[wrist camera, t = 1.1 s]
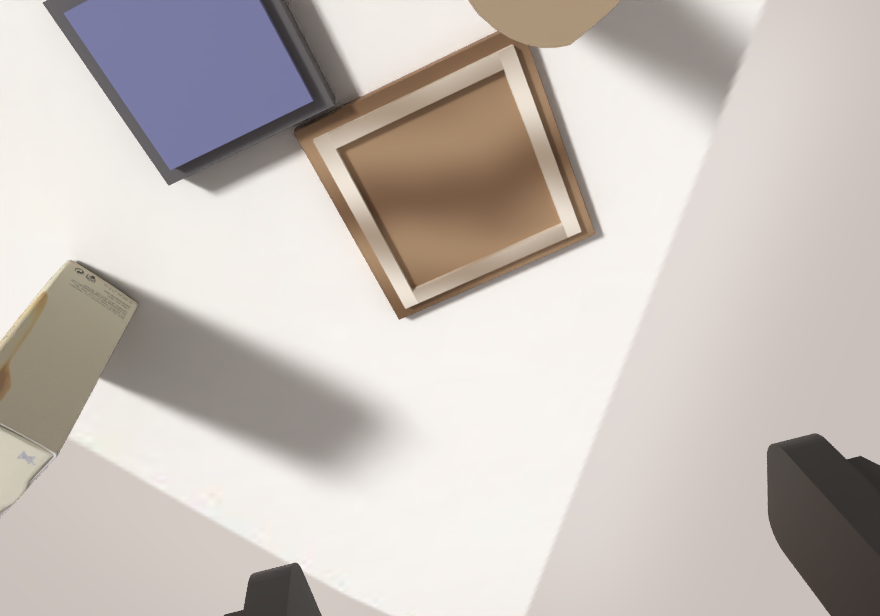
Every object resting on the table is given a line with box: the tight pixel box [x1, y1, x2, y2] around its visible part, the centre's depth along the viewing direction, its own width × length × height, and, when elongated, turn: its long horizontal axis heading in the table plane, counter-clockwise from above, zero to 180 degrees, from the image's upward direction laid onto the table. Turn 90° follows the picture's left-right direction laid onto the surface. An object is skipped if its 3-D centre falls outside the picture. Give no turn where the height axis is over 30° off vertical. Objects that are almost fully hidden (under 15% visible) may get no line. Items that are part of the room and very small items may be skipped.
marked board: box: [294, 31, 595, 320], centre depth 37 cm, size 12×12×1 cm
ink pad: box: [43, 0, 335, 185], centre depth 32 cm, size 9×9×2 cm
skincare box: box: [0, 260, 138, 518], centre depth 34 cm, size 6×4×12 cm
